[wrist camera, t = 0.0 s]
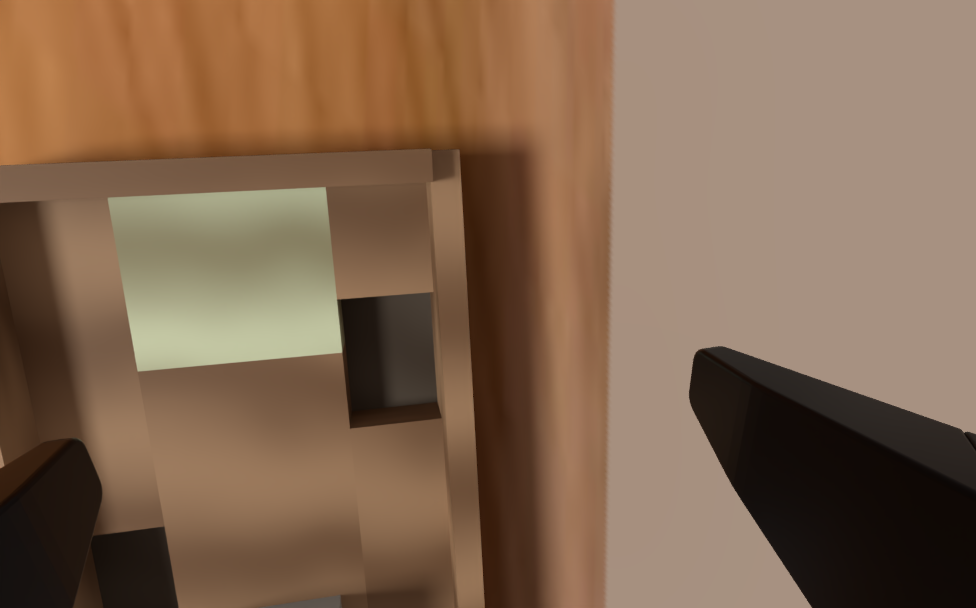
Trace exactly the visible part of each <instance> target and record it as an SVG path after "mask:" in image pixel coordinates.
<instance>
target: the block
mask: <svg viewBox="0 0 976 608" xmlns="http://www.w3.org/2000/svg"><path fill="white" fill-rule="evenodd" d="M261 608H342V605H341V596H340V595H337V596H331V597H324V598H318V599H312V600H305V601H299V602H292V603H286V604H280V605H273V606H267V607H261Z"/></svg>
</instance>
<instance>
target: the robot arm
mask: <svg viewBox="0 0 976 608" xmlns="http://www.w3.org/2000/svg"><path fill="white" fill-rule="evenodd" d="M689 399H690V403H691V406H692V409H693V411H694V413H695V415H696V417H697V419H698V421H699V423H700V425H701V427H702V429H703V430H704V432H705V434H706V436H707V438H708V440H709V442H710V444H711V446H712V448H713V450H714V452H715V454H716V456H717V458H718V460H719V462H720V464H721V465H722V467H723V469H724V471H725V473H726V475H727V477H728V479H729V480H730V482H731V484H732V486H733V487H734V489H735V491H736V492H737V494H738V496H739V497H740V498H741V500H742V502H743V503H744V505H745V506H746V508H747V509H748V511H749V512H750V514H751V516H752V517H753V519H754V520H755V522H756V523H757V525H758V526H759V528H760V529H761V531H762V532H763V534H764V535H765V537H766V538H767V540H768V541H769V543H770V544H771V546H772V547H773V549H774V551H775V552H776V554H777V555H778V557H779V558H780V559H781V561H782V562H783V564H784V566H785V567H786V569H787V570H788V572H789V573H790V575H791V576H792V578H793V579H794V581H795V582H796V584H797V585H798V587H799V588H800V590H801V592H802V593H803V595H804V596H805V598H806V599H807V601H808V602H809V604H810V605H811V607H812V608H976V434H973V433H970V432H965V433H964V432H963V431H962V430H961V429H958V428H956V427H953V426H950V425H947V424H944V423H941V422H939V421H936V420H933V419H930V418H927V417H924V416H921V415H919V414H915V413H913V412H910V411H907V410H904V409H901V408H899V407H896V406H892V405H890V404H887V403H884V402H881V401H878V400H876V399H873V398H870V397H867V396H864V395H861V394H858V393H856V392H852V391H850V390H847V389H844V388H841V387H838V386H835V385H832V384H829V383H827V382H824V381H821V380H818V379H815V378H812V377H809V376H807V375H804V374H801V373H798V372H795V371H792V370H790V369H787V368H784V367H781V366H778V365H775V364H772V363H769V362H766V361H764V360H761V359H758V358H755V357H752V356H749V355H747V354H744V353H741V352H738V351H735V350H732V349H729V348H726V347H722V346H718V347H711V348H705V349H700V350H698V351H697V352H696V354H695V356H694V359H693V367H692V374H691V382H690V390H689ZM102 495H103V492H102V484H101V481H100V479H99V476H98V474H97V472H96V469H95V467H94V464H93V462H92V460H91V457H90V455H89V453H88V450H87V448H86V446H85V444H84V443H83V442H82V441H81V440H80V439H78V438H75V437H73V438H65V439H58V440H51V441H46V442H42V443H41V444H39V445H37V446H36V447H34V448H32V449H31V450H29V451H27V452H26V453H24V454H23V455H21V456H19V457H18V458H16V459H14V460H13V461H11V462H10V463H8V464H6V465H5V466H3V467H2V468H0V608H73V606H74V603H75V599H76V596H77V593H78V589H79V586H80V582H81V578H82V575H83V571H84V567H85V563H86V559H87V556H88V552H89V548H90V544H91V540H92V537H93V533H94V529H95V525H96V521H97V518H98V514H99V510H100V506H101V502H102Z"/></svg>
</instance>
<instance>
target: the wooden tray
mask: <svg viewBox="0 0 976 608" xmlns="http://www.w3.org/2000/svg"><path fill="white" fill-rule="evenodd" d="M73 437H75V438H78V439H80V440H81V441H82V442H83V443H84V444H85V446H86V448H87V450H88V453H89V455H90V457H91V460H92V462H93V464H94V467H95V469H96V472H97V474H98V476H99V479H100V481H101V484H102V492H103V495H102V502H101V506H100V510H99V514H98V518H97V521H96V525H95V529H94V533H93V537H92V540H91V544H90V548H89V552H88V556H87V559H86V563H85V567H84V571H83V575H82V578H81V582H80V586H79V589H78V593H77V596H76V599H75V603H74V606H73V608H261V607H267V606H273V605H280V604H286V603H292V602H299V601H305V600H312V599H318V598H324V597H331V596H337V595H340V596H341V605H342V608H485V603H484V585H483V567H482V549H481V531H480V513H479V494H478V476H477V458H476V440H475V422H474V404H473V386H472V368H471V350H470V332H469V314H468V296H467V277H466V259H465V241H464V223H463V205H462V187H461V169H460V151H459V149H452V150H431V149H409V150H383V151H358V152H332V153H307V154H281V155H256V156H230V157H205V158H180V159H154V160H129V161H103V162H78V163H52V164H27V165H1V166H0V468H2V467H3V466H5V465H6V464H8V463H10V462H11V461H13V460H14V459H16V458H18V457H19V456H21V455H23V454H24V453H26V452H27V451H29V450H31V449H32V448H34V447H36V446H37V445H39V444H41V443H42V442H46V441H51V440H58V439H65V438H73Z"/></svg>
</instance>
